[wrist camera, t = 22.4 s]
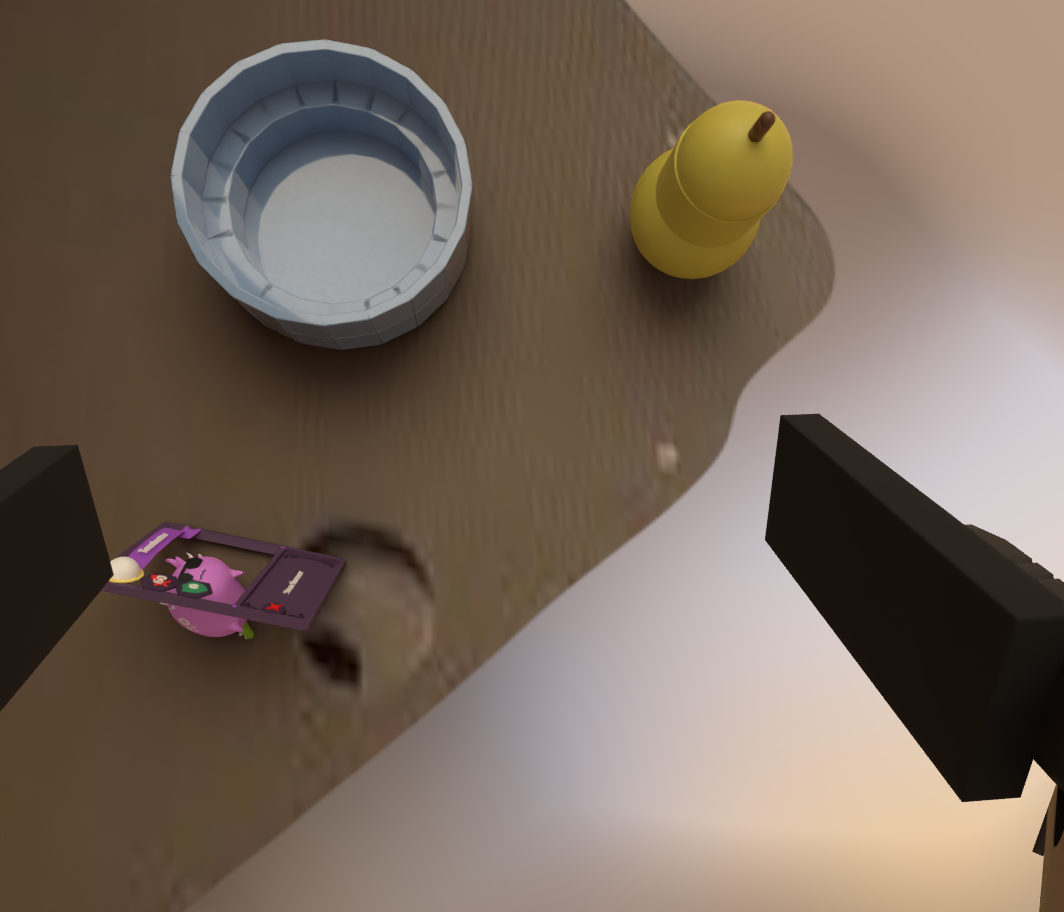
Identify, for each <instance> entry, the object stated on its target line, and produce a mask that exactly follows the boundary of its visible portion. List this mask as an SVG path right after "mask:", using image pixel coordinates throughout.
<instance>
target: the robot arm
mask: <svg viewBox="0 0 1064 912" xmlns="http://www.w3.org/2000/svg"><path fill="white" fill-rule="evenodd" d="M765 540H766V542H767V543H768V545H769V546H770V547H771V548H772V550H773V551H774V552H775V554H776V555H777V557H778V558H779V559H780V561H781V562H782V563H783V564H784V566H785V567H786V569H787V570H788V571H789V573H790V574H791V575H792V577H793V578H794V579H795V580H796V582H797V583H798V584H799V586H800V587H801V588H802V590H803V591H804V592H805V594H806V595H807V596H808V597H809V599H810V600H811V602H812V603H813V604H814V606H815V607H816V608H817V610H818V611H819V612H820V614H821V615H822V616H823V618H824V619H825V620H826V622H827V623H828V624H829V626H830V627H831V628H832V629H833V631H834V632H835V634H836V635H837V636H838V638H839V639H840V640H841V642H842V643H843V644H844V646H845V647H846V648H847V650H848V651H849V652H850V653H851V655H852V656H853V658H854V659H855V660H856V662H857V663H858V664H859V666H860V667H861V668H862V670H863V671H864V672H865V674H866V675H867V676H868V678H869V679H870V680H871V682H872V683H873V684H874V686H875V687H876V688H877V690H878V691H879V692H880V694H881V695H882V696H883V697H884V699H885V700H886V702H887V703H888V704H889V706H890V707H891V708H892V710H893V711H894V712H895V713H896V715H897V716H898V718H899V719H900V720H901V721H902V723H903V724H904V725H905V727H906V728H907V729H908V731H909V732H910V733H911V735H912V736H913V737H914V739H915V740H916V741H917V743H918V744H919V745H920V747H921V748H922V749H923V751H924V752H925V753H926V755H927V756H928V757H929V759H930V760H931V761H932V762H933V764H934V765H935V767H936V768H937V769H938V771H939V772H940V773H941V775H942V776H943V777H944V779H945V780H946V781H947V783H948V784H949V785H950V787H951V788H952V789H953V791H954V792H955V793H956V795H957V796H958V797H959V799H960V800H961V801H962V802H970V801H982V800H994V799H1006V798H1020V797H1021V794H1022V791H1023V788H1024V785H1025V782H1026V779H1027V776H1028V773H1029V770H1030V767H1031V764H1032V761H1033V759H1034V760H1035V762H1036V763H1037V764H1038V765H1039V766H1040V767H1041V768H1042V769H1043V770H1044V771H1045V772H1046V773H1047V775H1048V776H1049V777H1050V778H1051V779H1052V780H1053V781H1054V782H1055V783H1056V787H1055V789H1054V792H1053V795H1052V798H1051V801H1050V803H1049V806H1048V809H1047V812H1046V815H1045V817H1044V820H1043V823H1042V826H1041V829H1040V831H1039V834H1038V837H1037V840H1036V843H1035V845H1034V848H1033V852H1035V853H1037V854H1039V855H1041V856H1043V855H1044V862H1043V874H1042V886H1041V897H1040V909H1039V912H1064V582H1062V581H1061V580H1060V579H1054V577H1053V574H1052V573H1050V572H1049V571H1048V570H1046V569H1045V568H1043V567H1042V566H1041V565H1039V564H1038V563H1032V559H1031V558H1030V557H1028V556H1027V555H1026V554H1024V553H1023V552H1022V551H1020V550H1019V549H1018V548H1016V547H1015V546H1014V545H1012V544H1011V543H1009V542H1008V541H1006V540H1005V539H1003V538H1000V537H998V536H996V535H994V534H991V533H989V532H987V531H985V530H983V529H980V528H978V527H976V526H974V525H964V524H962V523H961V522H960V521H959V520H957V519H956V518H955V517H953V516H952V515H951V514H949V513H948V512H947V511H946V510H944V509H943V508H941V507H940V506H939V505H938V504H936V503H935V502H934V501H932V500H931V499H930V498H929V497H927V496H926V495H925V494H923V493H922V492H921V491H919V490H918V489H917V488H915V487H914V486H913V485H911V484H910V483H909V482H908V481H906V480H905V479H904V478H902V477H901V476H900V475H898V474H897V473H896V472H894V471H893V470H892V469H891V468H889V467H888V466H887V465H885V464H884V463H883V462H881V461H880V460H879V459H877V458H876V457H875V456H874V455H872V454H871V453H870V452H868V451H867V450H866V449H864V448H863V447H862V446H860V445H859V444H858V443H857V442H855V441H854V440H853V439H851V438H850V437H848V436H847V435H846V434H845V433H843V432H842V431H841V430H839V429H838V428H837V427H836V426H834V425H833V424H832V423H830V422H829V421H828V420H826V419H825V418H824V417H822V416H821V415H820V414H802V415H781V416H780V424H779V433H778V440H777V448H776V456H775V464H774V472H773V480H772V489H771V496H770V504H769V512H768V520H767V528H766V536H765ZM113 575H114V573H113V570H112V566H111V563H110V559H109V556H108V552H107V548H106V545H105V541H104V538H103V534H102V530H101V527H100V523H99V520H98V516H97V513H96V509H95V505H94V502H93V498H92V495H91V491H90V487H89V484H88V480H87V477H86V473H85V470H84V466H83V462H82V459H81V455H80V452H79V448H78V445H66V446H42V447H33V448H31V449H30V450H28V451H27V452H26V453H24V454H23V455H21V456H20V457H18V458H17V459H15V460H14V461H12V462H11V463H10V464H8V465H7V466H5V467H4V468H2V469H1V470H0V711H1V710H2V709H3V708H4V706H5V705H6V704H7V703H8V702H9V700H10V699H11V698H12V697H13V696H14V694H15V693H16V692H17V691H18V690H19V688H20V687H21V686H22V685H23V684H24V682H25V681H26V680H27V679H28V678H29V676H30V675H31V674H32V673H33V672H34V670H35V669H36V668H37V667H38V666H39V664H40V663H41V662H42V661H43V660H44V658H45V657H46V656H47V655H48V654H49V652H50V651H51V650H52V649H53V647H54V646H55V645H56V644H57V643H58V641H59V640H60V639H61V638H62V637H63V635H64V634H65V633H66V632H67V631H68V629H69V628H70V627H71V626H72V625H73V623H74V622H75V621H76V620H77V619H78V617H79V616H80V615H81V614H82V613H83V611H84V610H85V609H86V608H87V607H88V605H89V604H90V603H91V602H92V601H93V599H94V598H95V597H96V596H97V595H98V593H99V592H100V591H101V590H102V589H103V587H104V586H105V585H106V584H107V583H108V581H109V580H110V579H111V578H112V577H113Z"/></svg>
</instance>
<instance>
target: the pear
mask: <svg viewBox="0 0 1064 912" xmlns="http://www.w3.org/2000/svg"><path fill="white" fill-rule="evenodd" d="M792 163H793V149H792V142H791V138H790V135H789V133H788V131H787V129H786V127H785V125H784V123H783V122H782V121H781V119H780V118H779V117H778V116H777V115H776V114H775V113H774V112H773V111H771V110H770V109H768V108H767V107H765V106H763V105H760V104H757V103H753V102H750V101H731V102H726V103H722V104H719V105H717V106H715V107H713V108H711V109H709V110H707V111H706V112H704V113H703V114H702V115H701V116H699V117H698V118H697V119H696V120H694V121H693V122H692V123H691V124H690V125H689V126H688V127H687V128H686V129H685V130H684V132H683V133H682V135H681V137H680V138H679V140H678V142H677V143H676V145H675V147H674V148H673V149H671V150H669V151H667V152H665V153H664V154H662V155H660V156H659V157H658V158H657V159H656V160H655V161H653V162H652V163H651V164H650V165H649V166H648V168H647V169H646V170H645V171H644V173H643V174H642V176H641V177H640V179H639V180H638V182H637V185H636V187H635V189H634V192H633V195H632V198H631V204H630V217H629V218H630V227H631V232H632V235H633V238H634V241H635V243H636V245H637V247H638V249H639V251H640V252H641V254H642V255H643V256H644V257H645V259H646V260H647V261H648V262H649V263H650V264H652V265H653V266H654V267H655V268H657V269H658V270H660V271H662V272H664V273H666V274H668V275H671V276H674V277H678V278H685V279H699V278H705V277H709V276H712V275H715V274H718V273H720V272H722V271H724V270H725V269H727V268H728V267H730V266H731V265H733V264H734V263H735V262H737V261H738V260H739V259H740V258H741V257H742V256H743V254H744V253H745V252H746V251H747V250H748V249H749V247H750V245H751V244H752V242H753V240H754V238H755V236H756V234H757V232H758V229H759V225H760V221H761V218H762V217H763V216H764V215H765V214H766V213H767V212H768V211H769V210H770V209H771V208H772V207H773V206H774V205H775V204H776V202H777V201H778V199H779V198H780V196H781V194H782V192H783V190H784V188H785V186H786V184H787V182H788V180H789V177H790V173H791V169H792Z"/></svg>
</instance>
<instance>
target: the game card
mask: <svg viewBox="0 0 1064 912" xmlns="http://www.w3.org/2000/svg"><path fill="white" fill-rule="evenodd" d="M176 537H180V538H185V539H190V538H196V539H201V540H205V541H210V542H215V543H220V544H225V545H230V546H235V547H239V548H244V549H249V550H254V551H259V552H264V553H269V554H273V555H274V557H273V558H272V559H271V560H270V561H269V563H268V564H267V565H266V566H265V568H264V569H263V570H262V571H261V572H260V574H259V575H258V576H257V577H256V578H255V580H254V581H253V582H252V583H251V584H250V586H249V587H248V588H247V589H246V590H244V589H243V587H242V586H241V584H240V583H239V581H238V580H237V579H236V577H237V576H239V575H241V574H243V571H238V570H233V569H230V568H229V567H228V566H227V565H226V564H225V563H224V562H222V561H221V560H219V559H217V558H213V557H203V556H201V555H200V554H198V557H193V556H192V555H191V554H189V553H187V555H188V556H189V559H188V560H187V562H185V561H183V560H182V559H181V558H179V557H175V558H176V560H175V559H166V560H165V562H169V563H171V564H172V565H174V566H175V567H176V568H177V569H176V571H175V572H174V573H173V575H172V576H171V575H166V574H161V573H156V574H152V575H149V576H146V577H143V576H144V572H143V569H144V568H145V567H146V566H147V564H148V563H149V562H150V561H151V560H152V559H153V557H154V556H155V555H156V554H157V553H158V552H160V551H161V550H162V549H163V548H164V547H165V546H166V545H168V544H169V543H170V542H171V541H172V540H174V539H175V538H176ZM110 563H111V566H112V570H113V573H114V575H113V577H112V578H111V579H110V580H109V581H108V583H107V584H106V585H105V586H104V587H103V589H102V590H101V591H106V592H111V593H116V594H121V595H126V596H131V597H136V598H141V599H146V600H151V601H156V602H161V603H159V604H162V605H168V608H169V611H170V613H171V614H172V616H173V617H174V619H175V620H176V621H177V622H178V623H179V624H181V625H182V626H183V627H185V628H186V629H188V630H190V631H192V632H194V633H197V634H200V635H203V636H208V637H223V636H227V635H230V634H233V633H235V632H241V633H238V634H240V636H241V635H245V636H244V637H245V638H246V639H251V638H252V637H253V636H254V632H253V631H252V629H251V627H250V626H249V625H248V623H247V620H252V621H257V622H262V623H267V624H272V625H277V626H282V627H287V628H292V629H297V630H303V631H306V630H309V628H310V627H311V625H312V623H313V621H314V620H315V618H316V616H317V614H318V613H319V611H320V609H321V607H322V606H323V604H324V602H325V600H326V598H327V597H328V595H329V593H330V591H331V590H332V588H333V586H334V584H335V583H336V581H337V579H338V577H339V576H340V574H341V572H342V570H343V569H344V565H345V559H343V558H339V557H334V556H329V555H324V554H319V553H315V552H310V551H305V550H300V549H295V548H290V547H285V546H281V545H276V544H271V543H266V542H261V541H256V540H252V539H247V538H242V537H237V536H232V535H227V534H223V533H218V532H213V531H208V530H203V529H198V528H194V527H189V526H187V525H186V526H184V525H179V524H174V523H169V522H165V523H162V524H161V525H159V526H158V527H157V528H155V529H154V530H153V531H151V532H150V533H149V534H147V535H146V536H145V537H143V538H142V539H141V540H139V541H138V542H136V543H135V544H134V545H132V546H131V547H130V548H128V549H127V550H126V551H124V552H123V553H122V554H120V555H119V556H117V557H116V558H115V559H113V560H112V561H111V562H110ZM139 579H141V584H142V587H141V586H136V585H131V584H130V583H131V582H135V581H137V580H139ZM240 636H239V637H240Z"/></svg>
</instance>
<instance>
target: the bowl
mask: <svg viewBox="0 0 1064 912" xmlns="http://www.w3.org/2000/svg"><path fill="white" fill-rule="evenodd" d="M171 184H172V191H173V198H174V205H175V212H176V219H177V223H178V225H179V227H180V229H181V231H182V233H183V235H184V237H185V239H186V241H187V243H188V245H189V246H190V248H191V250H192V252H193V254H194V256H195V258H196V260H197V262H198V263H199V265H200V266H201V267H202V268H203V269H204V270H205V271H206V272H207V273H208V274H209V275H210V276H211V277H212V278H213V279H214V280H215V281H216V282H217V283H218V284H219V285H220V286H221V287H222V288H223V289H224V290H226V291H227V292H228V293H229V294H230V295H231V296H232V297H233V298H234V299H235V300H236V301H237V302H238V303H239V304H240V305H242V306H243V307H244V308H245V309H246V310H247V311H248V312H249V313H250V314H251V315H253V316H254V317H255V318H256V319H257V320H258V321H259V322H260V323H261V324H263V325H264V326H266V327H268V328H270V329H272V330H274V331H276V332H278V333H280V334H282V335H284V336H286V337H288V338H290V339H292V340H294V341H296V342H300V343H301V344H307V345H313V346H319V347H326V348H332V349H338V350H340V349H341V350H346V349H353V348H360V347H367V346H374V345H381V344H382V343H385V342H387V341H390V340H392V339H394V338H396V337H398V336H400V335H402V334H404V333H406V332H408V331H410V330H412V329H414V328H416V327H418V326H420V325H421V324H422V323H423V322H424V321H425V320H426V319H427V318H428V317H429V316H430V315H431V314H432V313H433V312H434V311H435V310H436V309H437V308H438V307H439V306H441V305H442V304H443V303H444V302H445V301H446V299H447V298H448V297H449V295H450V293H451V291H452V289H453V287H454V285H455V284H456V282H457V280H458V278H459V276H460V274H461V272H462V270H463V268H464V266H465V263H466V258H467V252H468V246H469V239H470V233H471V223H472V190H473V184H472V178H471V172H470V166H469V160H468V154H467V148H466V143H465V140H464V138H463V136H462V134H461V133H460V131H459V129H458V127H457V125H456V123H455V121H454V119H453V117H452V115H451V113H450V111H449V110H448V108H447V106H446V104H445V103H444V101H443V100H442V99H441V98H440V97H439V96H438V95H437V94H436V93H435V92H434V91H433V90H432V89H431V88H430V87H429V86H428V85H427V84H426V83H425V82H424V81H423V80H422V79H421V78H420V77H419V76H418V75H417V74H416V73H415V72H414V71H412V70H411V69H409V68H407V67H406V66H404V65H402V64H400V63H398V62H396V61H394V60H392V59H391V58H389V57H387V56H385V55H383V54H381V53H379V52H377V51H375V50H374V49H371V48H367V47H362V46H357V45H352V44H347V43H342V42H337V41H332V40H325V39H323V40H313V41H303V42H293V43H283V44H280V45H279V44H278V45H276V46H273V47H271V48H269V49H266V50H264V51H262V52H259V53H257V54H255V55H252V56H250V57H247V58H245V59H243V60H240V61H238V63H235V64H234V65H233V66H232V67H230V68H229V69H228V70H227V71H226V72H225V73H224V74H222V75H221V76H220V77H219V78H218V79H217V80H215V81H214V82H213V83H212V84H211V85H210V86H209V87H207V88H206V89H205V90H204V91H203V93H201V95H200V97H199V98H198V100H197V102H196V103H195V105H194V107H193V109H192V110H191V112H190V114H189V115H188V117H187V119H186V121H185V122H184V124H183V126H182V127H181V129H180V132H179V135H178V140H177V145H176V150H175V155H174V160H173V165H172V170H171Z"/></svg>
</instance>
